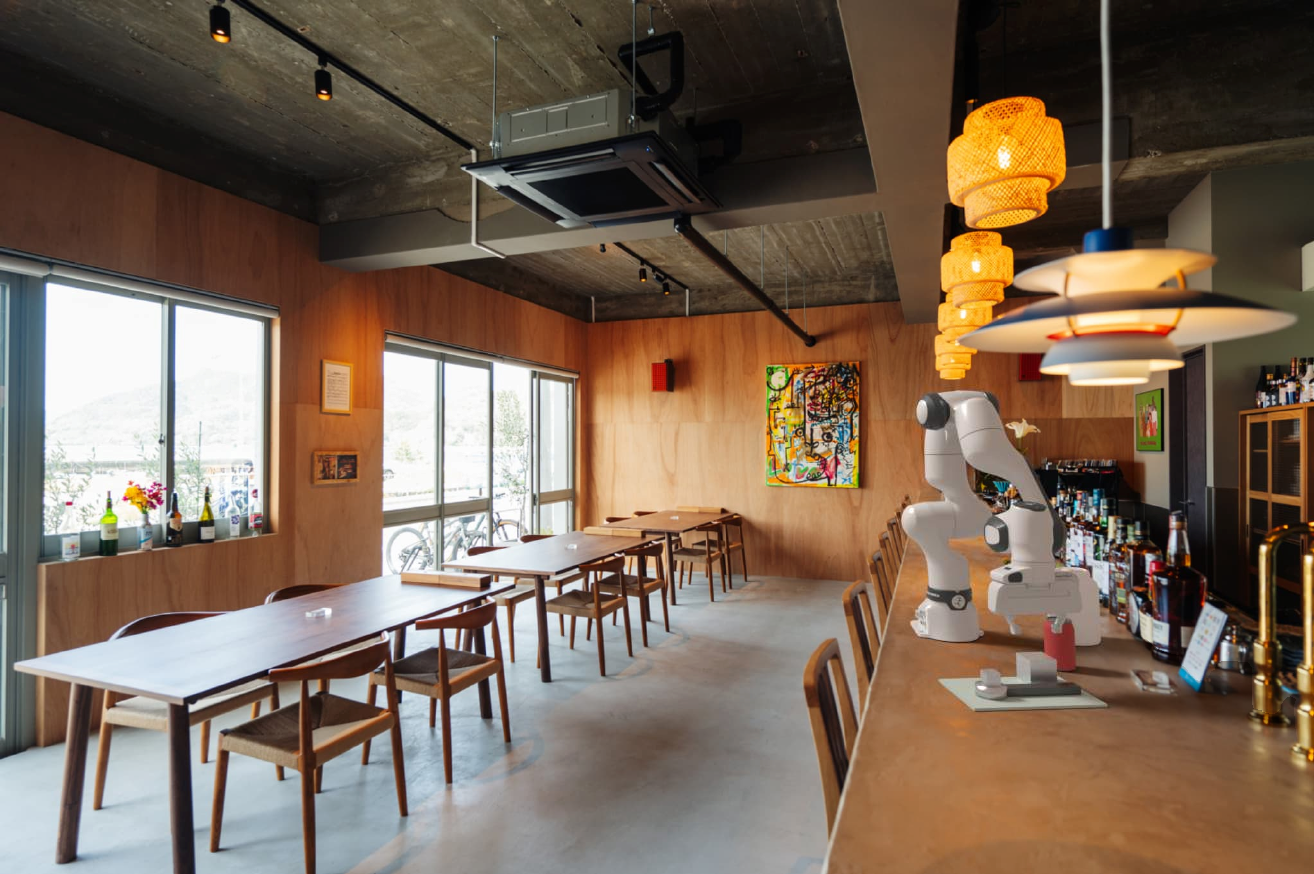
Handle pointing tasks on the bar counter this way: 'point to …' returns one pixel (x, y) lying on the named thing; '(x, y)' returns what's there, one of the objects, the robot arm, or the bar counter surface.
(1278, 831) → the bar counter surface
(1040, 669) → the grey box
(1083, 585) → the white plastic canister
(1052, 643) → the beer can
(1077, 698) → the mat
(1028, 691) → the lever
